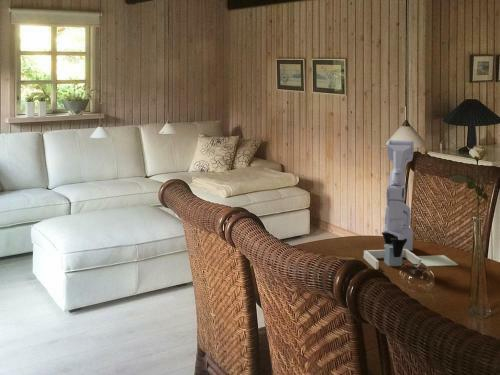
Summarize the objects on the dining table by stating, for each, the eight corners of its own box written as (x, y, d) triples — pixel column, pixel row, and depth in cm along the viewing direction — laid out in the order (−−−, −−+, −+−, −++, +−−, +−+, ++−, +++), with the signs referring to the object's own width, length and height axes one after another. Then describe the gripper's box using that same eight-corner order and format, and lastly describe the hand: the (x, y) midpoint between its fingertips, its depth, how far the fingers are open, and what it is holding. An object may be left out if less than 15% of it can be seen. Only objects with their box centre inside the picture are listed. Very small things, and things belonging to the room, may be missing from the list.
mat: (443, 255, 234) (443, 255, 234) (458, 265, 223) (458, 264, 223) (413, 257, 233) (413, 256, 233) (426, 266, 221) (426, 265, 221)
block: (396, 261, 227) (397, 243, 226) (401, 265, 223) (402, 247, 221) (384, 262, 227) (384, 244, 225) (388, 266, 222) (389, 247, 221)
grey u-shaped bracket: (406, 256, 234) (406, 248, 233) (420, 267, 220) (421, 259, 220) (363, 258, 232) (363, 250, 231) (375, 269, 218) (376, 261, 218)
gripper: (377, 214, 228) (376, 249, 230) (391, 222, 214) (389, 260, 216) (395, 213, 229) (394, 248, 231) (410, 222, 215) (408, 259, 217)
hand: (393, 253), depth 224 cm, fingers open, 7 cm apart
